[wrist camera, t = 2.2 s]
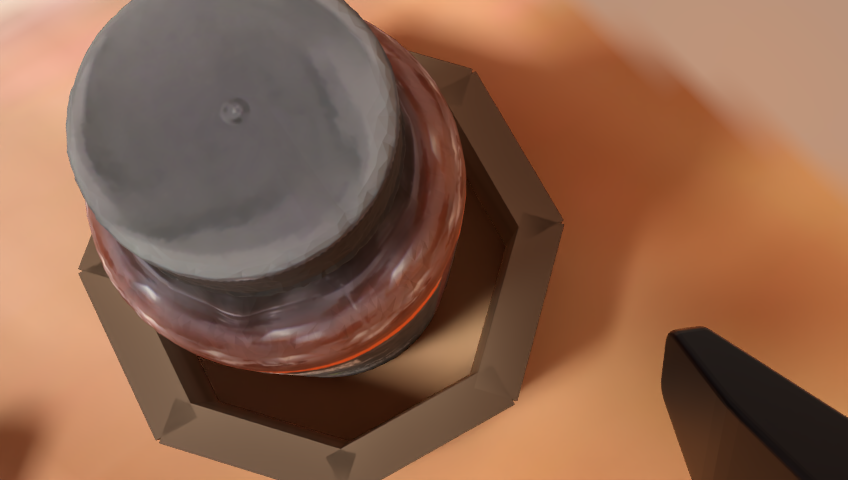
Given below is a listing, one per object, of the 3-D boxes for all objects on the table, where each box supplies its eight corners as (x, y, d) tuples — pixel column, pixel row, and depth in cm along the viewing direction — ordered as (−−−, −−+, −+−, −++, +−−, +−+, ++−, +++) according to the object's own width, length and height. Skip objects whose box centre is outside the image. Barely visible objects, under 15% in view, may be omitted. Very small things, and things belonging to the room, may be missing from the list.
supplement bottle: (347, 112, 21) (272, -207, 10) (494, 273, 20) (598, 127, 9) (174, 255, 20) (-125, 86, 9) (321, 428, 19) (195, 483, 8)
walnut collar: (605, 343, 20) (632, 337, 17) (243, 548, 18) (216, 573, 16) (414, 17, 21) (414, -32, 19) (71, 186, 20) (24, 158, 18)
